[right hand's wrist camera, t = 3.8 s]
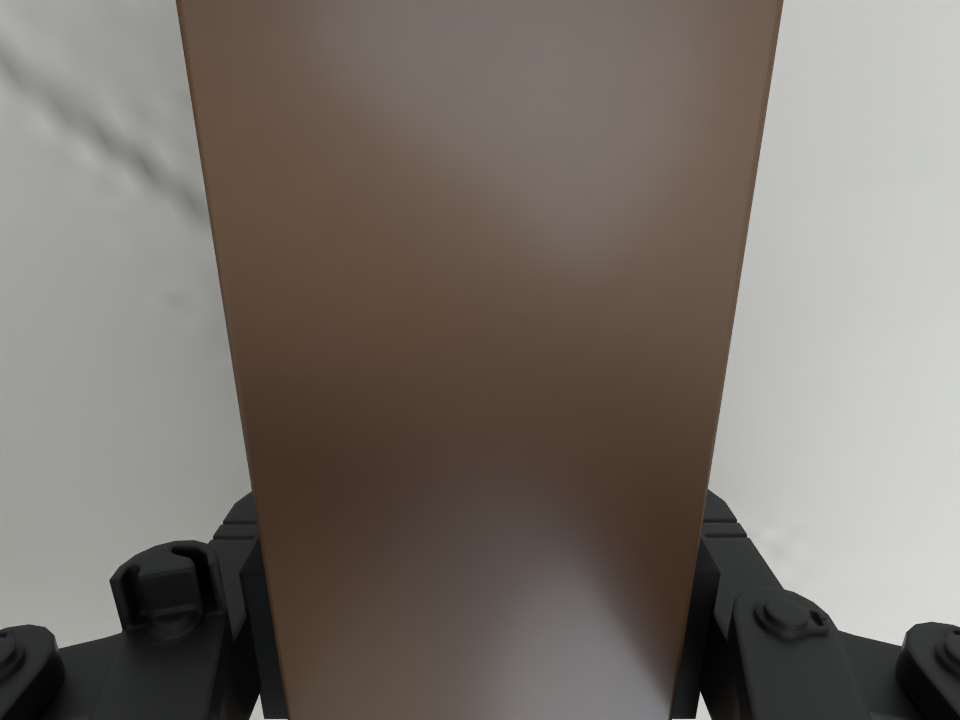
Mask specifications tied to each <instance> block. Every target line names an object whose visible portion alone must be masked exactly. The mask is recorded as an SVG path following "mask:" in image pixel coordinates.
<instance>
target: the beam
mask: <svg viewBox="0 0 960 720" xmlns="http://www.w3.org/2000/svg"><path fill="white" fill-rule="evenodd" d="M176 4H177V11H178V17H179V24H180V30H181V37H182V43H183V49H184V56H185V62H186V69H187V75H188V82H189V88H190V94H191V101H192V107H193V114H194V120H195V127H196V133H197V139H198V146H199V152H200V159H201V165H202V172H203V178H204V184H205V191H206V197H207V204H208V210H209V217H210V223H211V229H212V236H213V242H214V249H215V255H216V262H217V268H218V274H219V281H220V287H221V294H222V300H223V307H224V313H225V319H226V326H227V332H228V339H229V345H230V352H231V358H232V364H233V371H234V377H235V384H236V390H237V396H238V403H239V409H240V416H241V422H242V429H243V435H244V441H245V448H246V454H247V461H248V467H249V474H250V480H251V486H252V493H253V499H254V506H255V512H256V519H257V525H258V531H259V538H260V544H261V551H262V557H263V564H264V570H265V576H266V583H267V589H268V596H269V602H270V609H271V615H272V621H273V628H274V634H275V641H276V647H277V654H278V660H279V666H280V673H281V679H282V686H283V692H284V699H285V705H286V711H287V718H288V720H672V715H673V708H674V702H675V695H676V689H677V683H678V676H679V670H680V663H681V657H682V650H683V644H684V638H685V631H686V625H687V618H688V612H689V605H690V599H691V592H692V586H693V580H694V573H695V567H696V560H697V554H698V547H699V541H700V535H701V528H702V522H703V515H704V509H705V502H706V496H707V489H708V483H709V477H710V470H711V464H712V457H713V451H714V444H715V438H716V431H717V425H718V419H719V412H720V406H721V399H722V393H723V386H724V380H725V374H726V367H727V361H728V354H729V348H730V341H731V335H732V328H733V322H734V316H735V309H736V303H737V296H738V290H739V283H740V277H741V271H742V264H743V258H744V251H745V245H746V238H747V232H748V225H749V219H750V213H751V206H752V200H753V193H754V187H755V180H756V174H757V168H758V161H759V155H760V148H761V142H762V135H763V129H764V122H765V116H766V110H767V103H768V97H769V90H770V84H771V77H772V71H773V65H774V58H775V52H776V45H777V39H778V32H779V26H780V19H781V13H782V7H783V0H176Z"/></svg>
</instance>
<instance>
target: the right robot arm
mask: <svg viewBox="0 0 960 720" xmlns="http://www.w3.org/2000/svg"><path fill="white" fill-rule="evenodd" d="M109 581H110V585H111V588H112V592H113V596H114V599H115V603H116V607H117V611H118V614H119V618H120V622H121V625H122V629H123V630H122V633H119V634H116V635H113V636H110V637H106V638H102V639H98V640H94V641H90V642H86V643H81V644H77V645H73V646H69V647H64V648H60V649H58V646H57V643H56V639H55V636H54V635H53V634H52V633H51V632H50V631H49V630H48V629H47V628H46V627H41V626H35V625H22V626H15V627H8V628H5V629H2V630H0V720H249V719H250V716H251V714H252V711H253V709H254V706H255V704H256V701H257V698H258V696H259V693H260V697H261V703H262V709H263V714H264V719H288V718H287V711H286V705H285V699H284V692H283V686H282V679H281V673H280V666H279V660H278V654H277V647H276V641H275V634H274V628H273V621H272V615H271V609H270V602H269V596H268V589H267V583H266V576H265V570H264V564H263V557H262V551H261V544H260V538H259V531H258V525H257V519H256V512H255V506H254V499H253V493H252V491H251V492H250V493H249V494H247V495H246V496H245V497H243V498H242V499H241V500H239V501H238V502H236V503H235V504H234V506H233V507H232V509H231V510H230V512H229V513H228V515H227V516H226V518H225V519H224V521H223V525H220V527H219V528H218V530H217V531H216V533H215V534H214V536H213V540H210V542H209V543H208V544H206V543H202V542H199V541H195V540H188V541H173V542H169V543H165V544H161V545H157V546H154V547H152V548H150V549H148V550H145V551H143V552H141V553H139V554H137V555H135V556H133V557H132V558H131V559H129V560H128V561H127V562H125V563H124V564H123V565H121V566H120V567H119V568H118V569H117V571H116V572H115V573H114V575H113V576H112V577H111V579H110V580H109ZM700 691H701V694H702V696H703V699H704V701H705V704H706V706H707V709H708V711H709V714H710V716H711V719H712V720H960V627H957V626H955V625H950V624H943V623H936V622H928V623H921V624H915V625H914V626H913V627H912V628H911V629H910V630H909V631H907V632H906V635H905V638H904V641H903V644H902V646H898V645H894V644H889V643H885V642H881V641H877V640H872V639H868V638H864V637H860V636H855V635H852V634H849V633H845V632H842V631H839V630H838V629H837V628H836V626H835V624H834V623H833V621H832V620H831V618H830V617H829V615H828V614H827V613H825V612H824V611H823V610H822V609H821V608H820V607H818V606H817V605H816V604H815V603H814V602H812V601H810V600H808V599H806V598H804V597H802V596H800V595H799V594H797V593H795V592H791V591H788V590H784V589H783V587H782V586H781V584H780V583H779V581H778V580H777V578H776V577H775V575H774V574H773V572H772V571H771V569H770V568H769V566H768V565H767V563H766V562H765V560H764V559H763V557H762V556H761V555H760V553H759V552H758V550H757V549H756V547H755V546H754V544H753V543H752V541H751V540H750V538H747V534H746V532H745V531H744V529H743V528H742V526H741V525H740V523H737V519H736V517H735V516H734V514H733V513H732V511H731V510H730V508H729V507H728V505H727V504H726V503H725V501H723V500H722V499H721V498H719V497H718V496H717V495H715V494H714V493H712V492H711V491H710V490H708V489H707V496H706V502H705V509H704V515H703V522H702V528H701V535H700V541H699V547H698V554H697V560H696V567H695V573H694V580H693V586H692V592H691V599H690V605H689V612H688V618H687V625H686V631H685V638H684V644H683V650H682V657H681V663H680V670H679V676H678V683H677V689H676V695H675V702H674V708H673V715H672V719H695V718H696V712H697V707H698V701H699V695H700Z"/></svg>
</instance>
